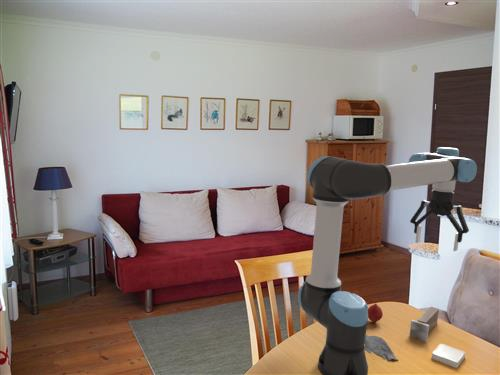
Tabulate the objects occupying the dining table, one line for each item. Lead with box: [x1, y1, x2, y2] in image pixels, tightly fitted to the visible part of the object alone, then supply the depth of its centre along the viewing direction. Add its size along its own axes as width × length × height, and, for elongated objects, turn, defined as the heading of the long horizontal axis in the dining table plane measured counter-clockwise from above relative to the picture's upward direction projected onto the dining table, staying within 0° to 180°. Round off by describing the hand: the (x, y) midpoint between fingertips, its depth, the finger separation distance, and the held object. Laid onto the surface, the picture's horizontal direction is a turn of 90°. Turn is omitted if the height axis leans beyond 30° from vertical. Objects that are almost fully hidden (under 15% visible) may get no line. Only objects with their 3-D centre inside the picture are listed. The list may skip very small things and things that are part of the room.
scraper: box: [409, 306, 440, 342], centre depth 167 cm, size 6×18×6 cm, turn 142°
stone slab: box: [364, 334, 399, 362], centre depth 154 cm, size 18×2×10 cm
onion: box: [368, 303, 384, 324], centre depth 171 cm, size 6×6×8 cm
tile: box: [431, 343, 466, 369], centre depth 149 cm, size 8×2×9 cm
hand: (435, 246), depth 166 cm, fingers open, 13 cm apart
